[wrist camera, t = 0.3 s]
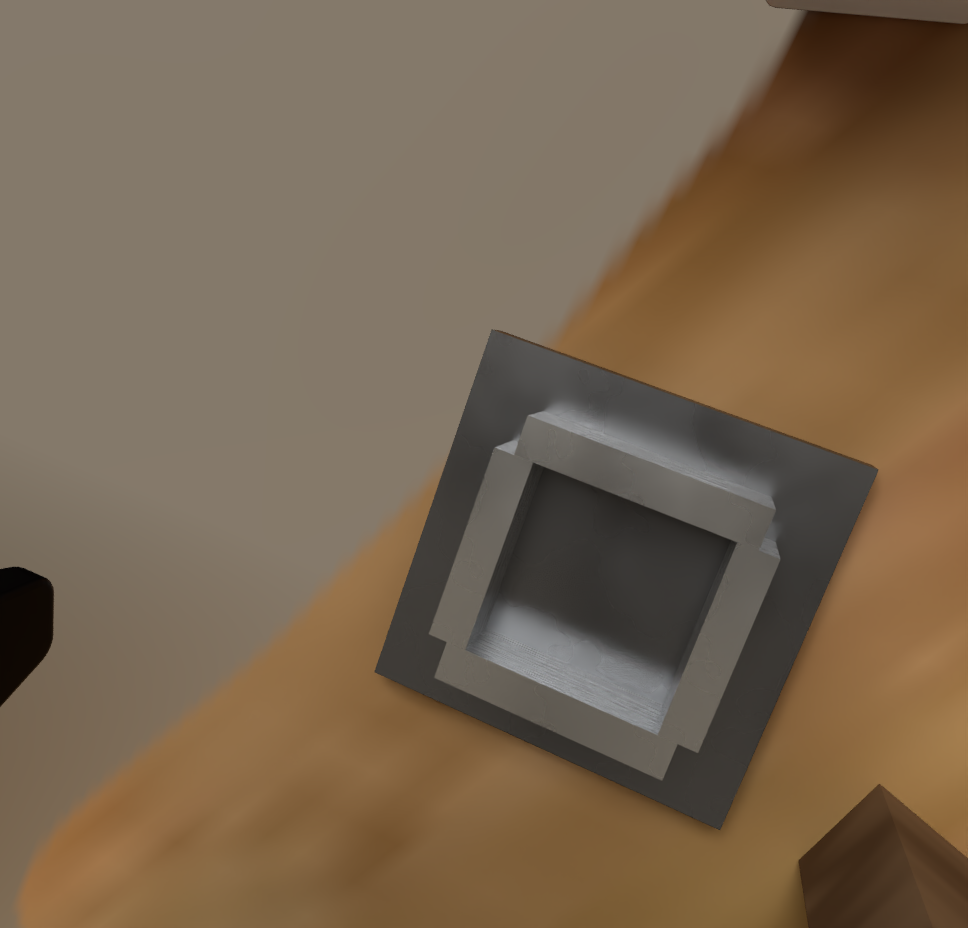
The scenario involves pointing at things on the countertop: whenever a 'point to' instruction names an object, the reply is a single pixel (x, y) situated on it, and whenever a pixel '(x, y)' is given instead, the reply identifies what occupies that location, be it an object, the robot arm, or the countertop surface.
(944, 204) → the countertop surface
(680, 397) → the square frame on plate
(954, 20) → the jar
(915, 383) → the countertop surface
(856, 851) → the walnut stick
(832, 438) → the countertop surface
